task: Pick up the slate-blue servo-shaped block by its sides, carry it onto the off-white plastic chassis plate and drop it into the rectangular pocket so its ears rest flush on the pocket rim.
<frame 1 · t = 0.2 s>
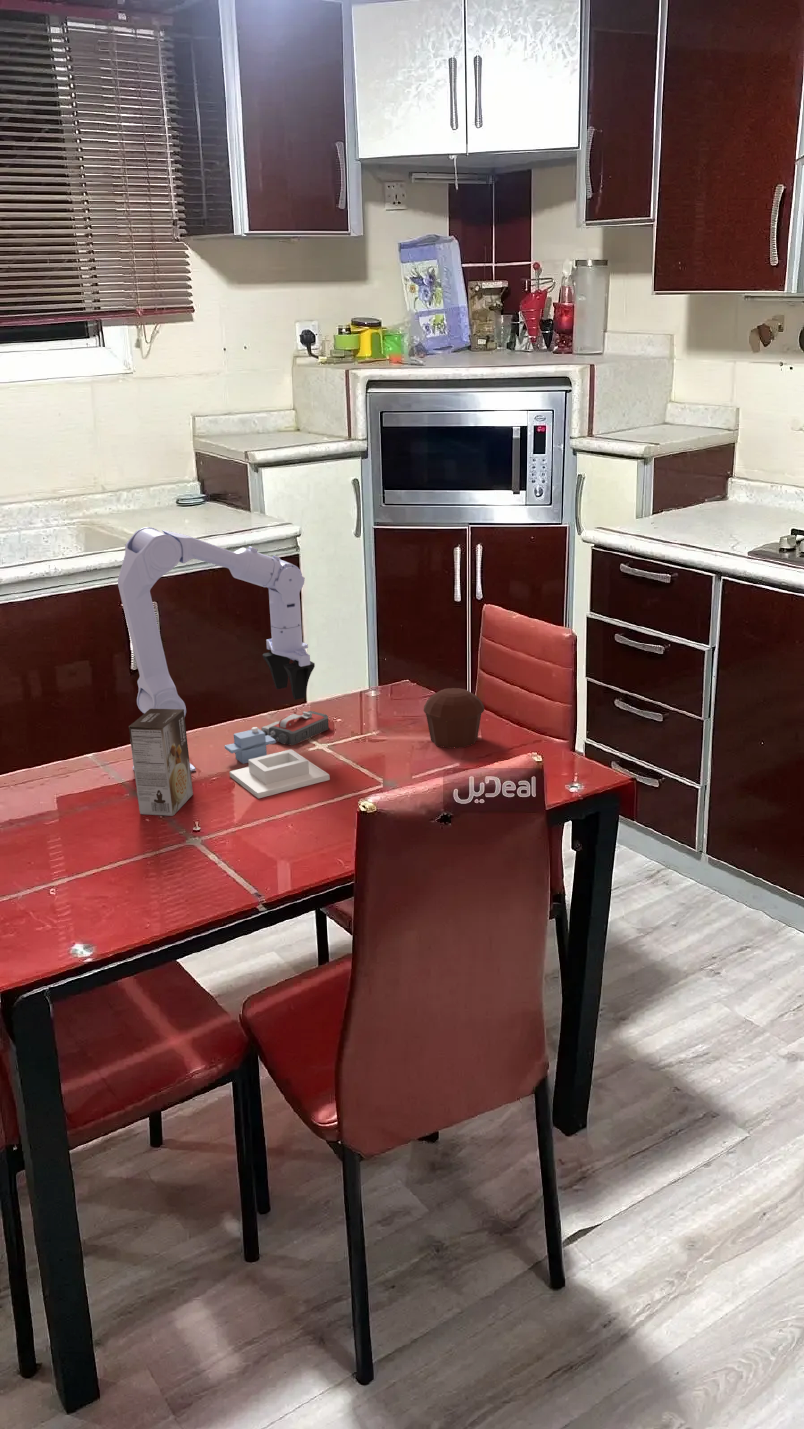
hand: (290, 693, 223), 10 cm above the table, fingers open, 7 cm apart
servo: (251, 758, 218), on the table
walkie-talkie: (285, 740, 228), on the table
muffin: (454, 741, 224), on the table
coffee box: (166, 805, 199), on the table
chassis: (279, 778, 209), on the table
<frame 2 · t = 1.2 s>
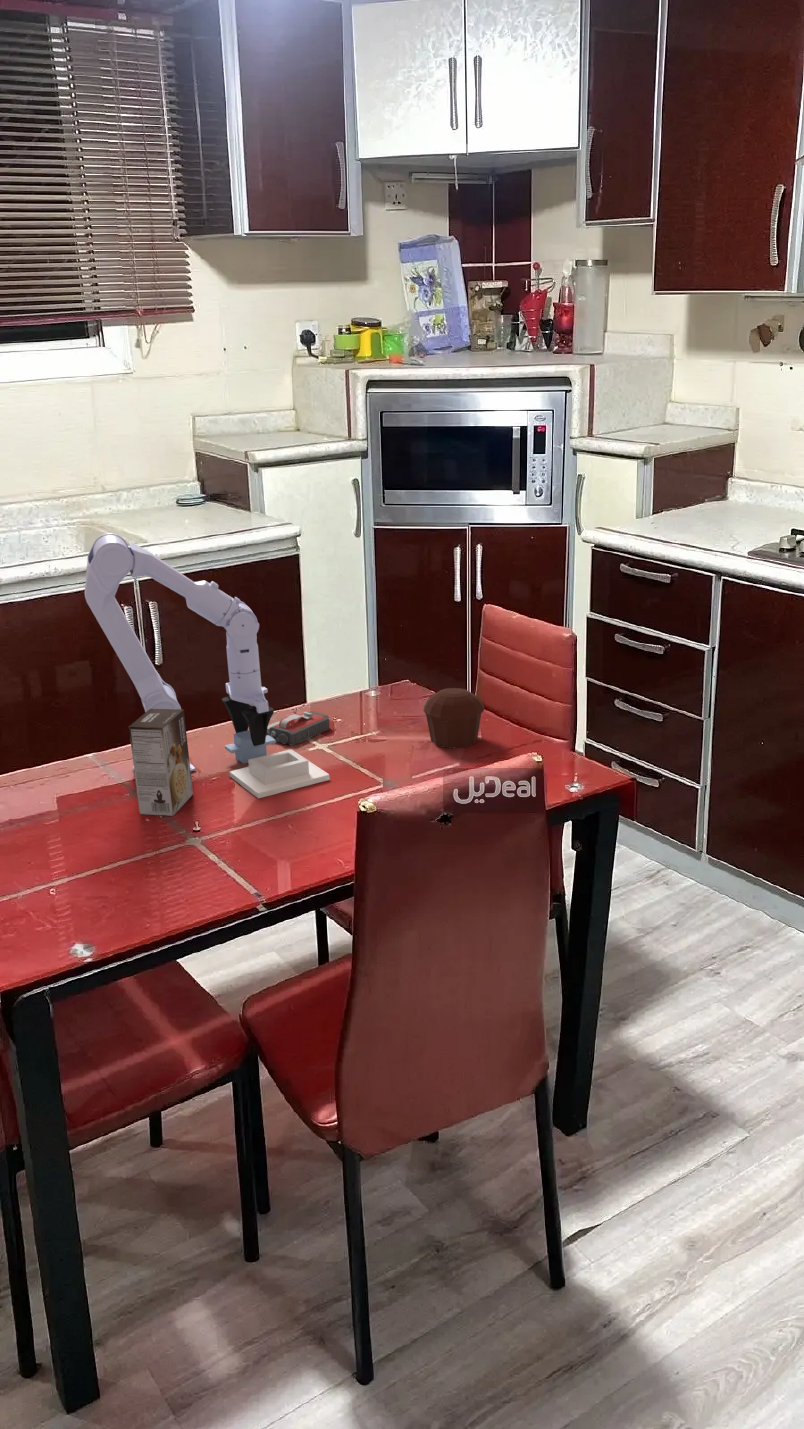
hand: (250, 738, 217), 4 cm above the table, fingers open, 7 cm apart
nothing on the table moved.
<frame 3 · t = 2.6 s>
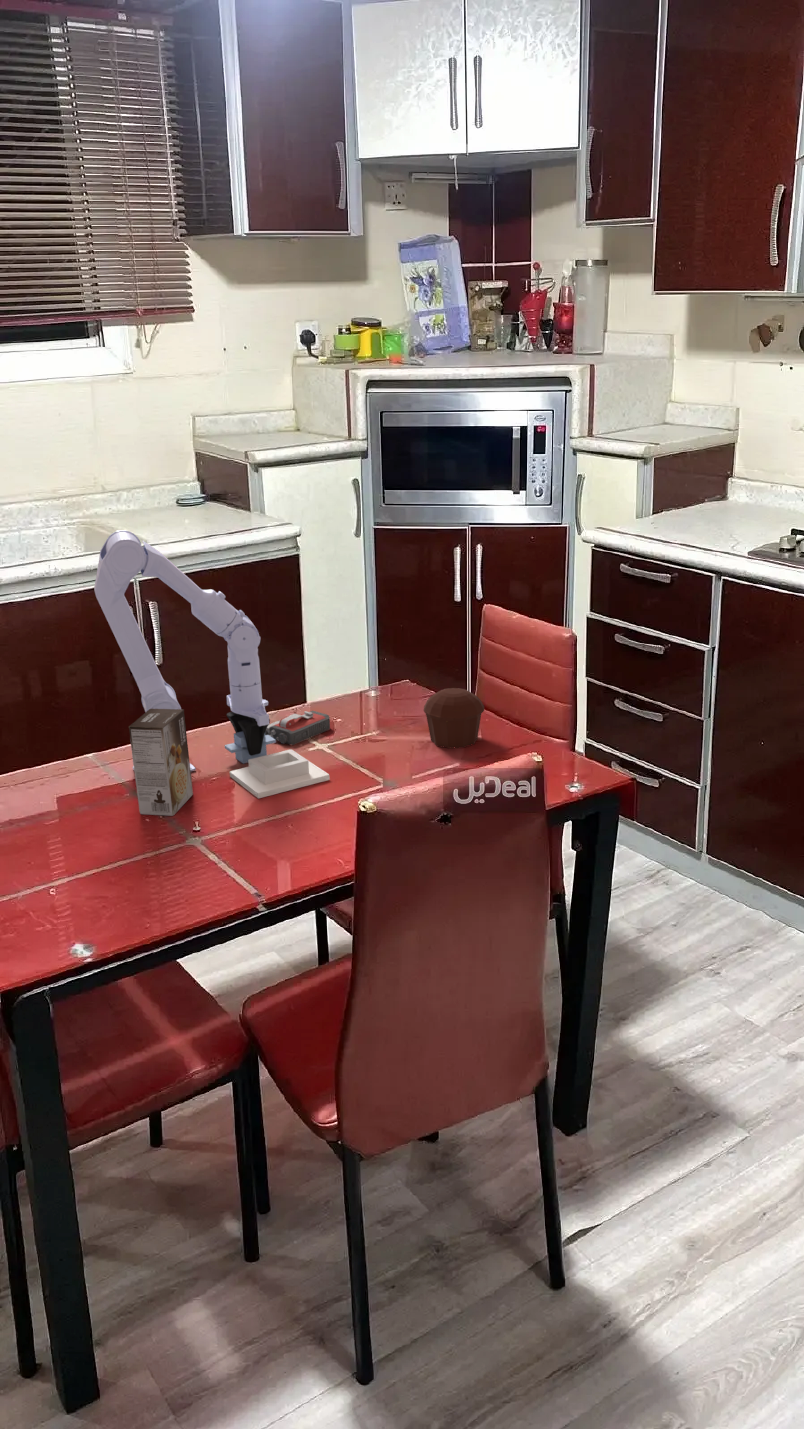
hand: (250, 750, 218), 1 cm above the table, fingers closed on servo, 3 cm apart
servo: (251, 757, 218), on the table, touching gripper
everything else where it was.
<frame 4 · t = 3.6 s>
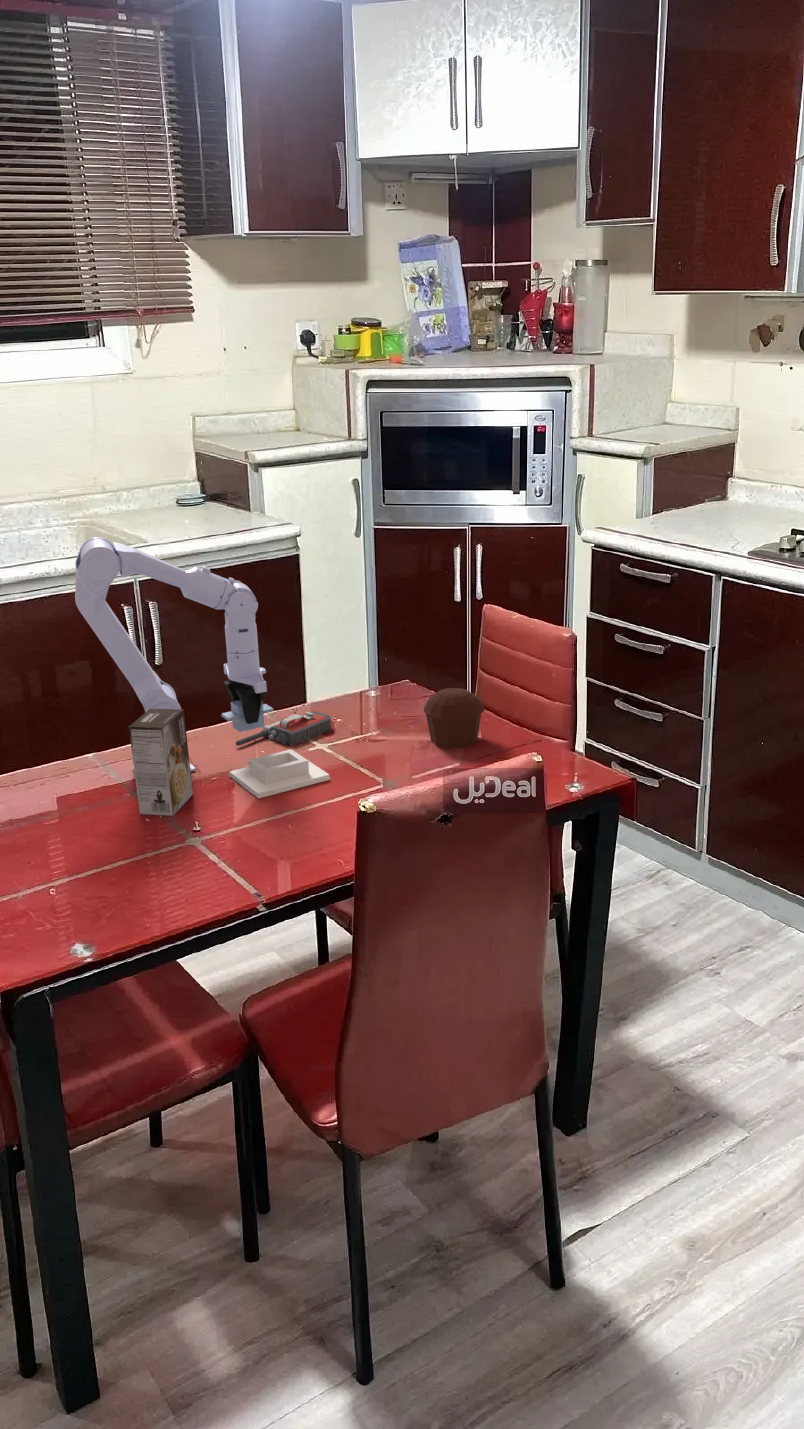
hand: (248, 719, 216), 8 cm above the table, fingers closed on servo, 3 cm apart
servo: (248, 726, 216), point 6 cm above the table, touching gripper
everything else where it was.
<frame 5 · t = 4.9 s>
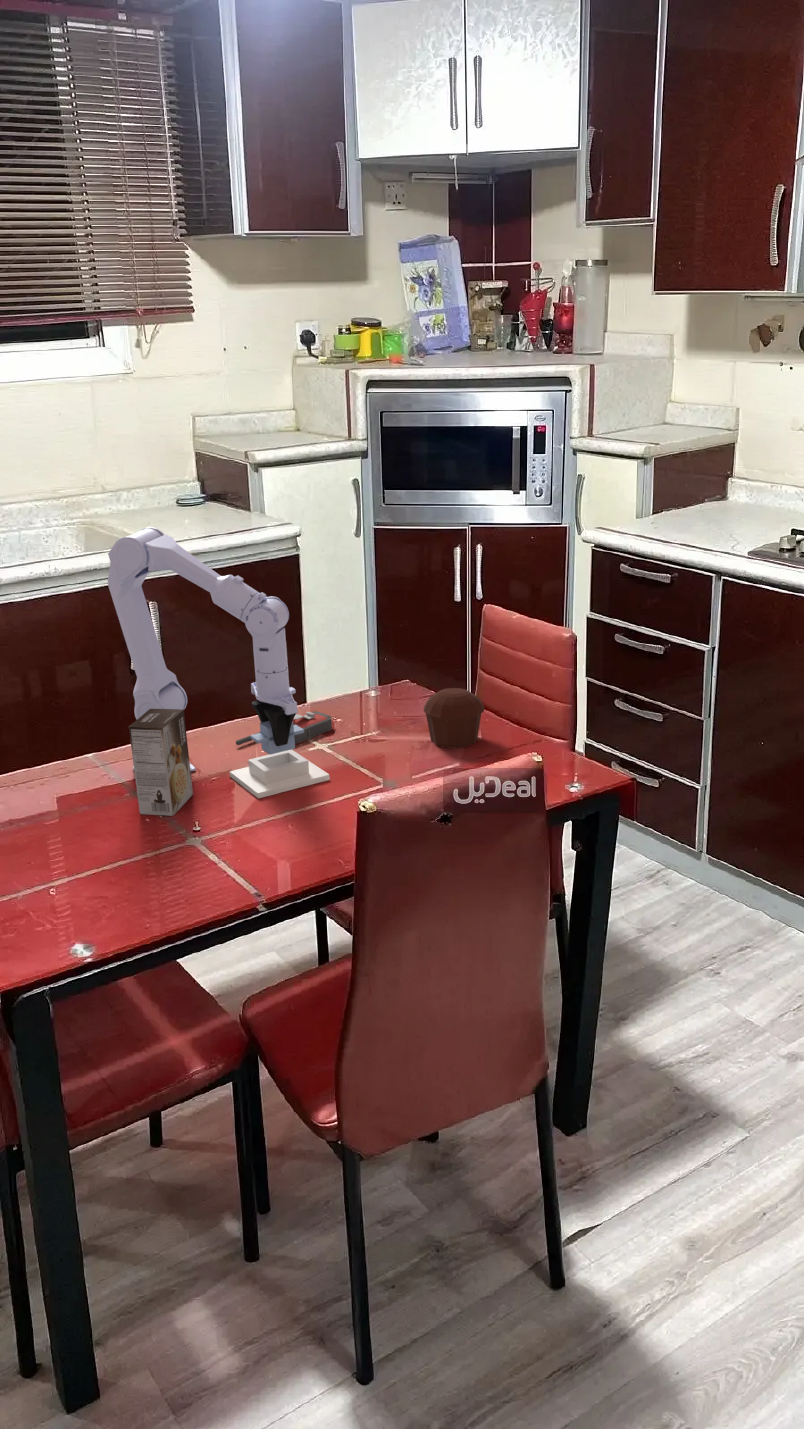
hand: (276, 741, 206), 7 cm above the table, fingers closed on servo, 3 cm apart
servo: (278, 748, 207), point 6 cm above the table, touching gripper
everything else where it was.
when the fingers open (4 cm above the table, at t = 6.1 s): servo drops 1 cm, resting on chassis.
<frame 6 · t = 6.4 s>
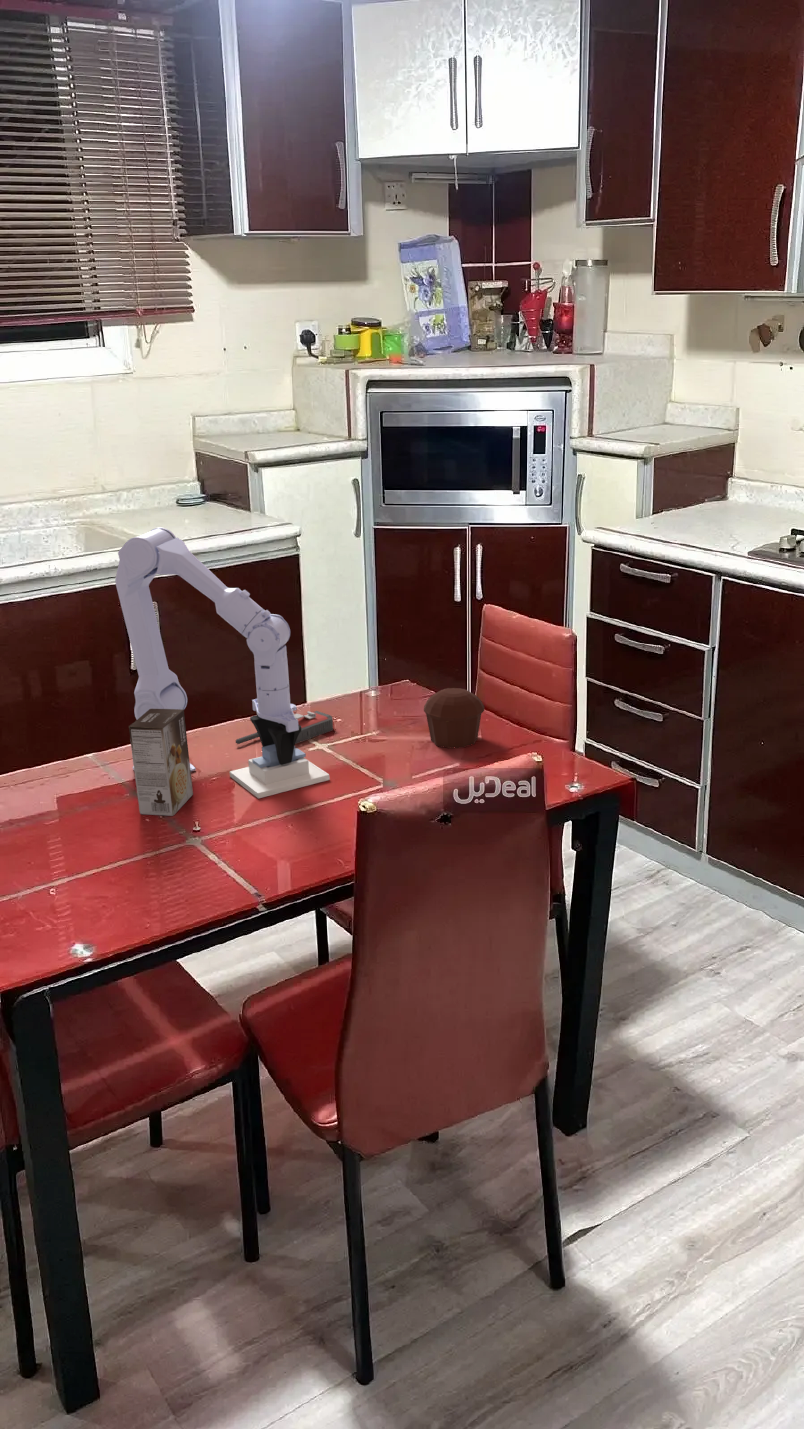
hand: (278, 757, 207), 4 cm above the table, fingers open, 5 cm apart
servo: (280, 772, 208), point 1 cm above the table, touching chassis
everything else where it was.
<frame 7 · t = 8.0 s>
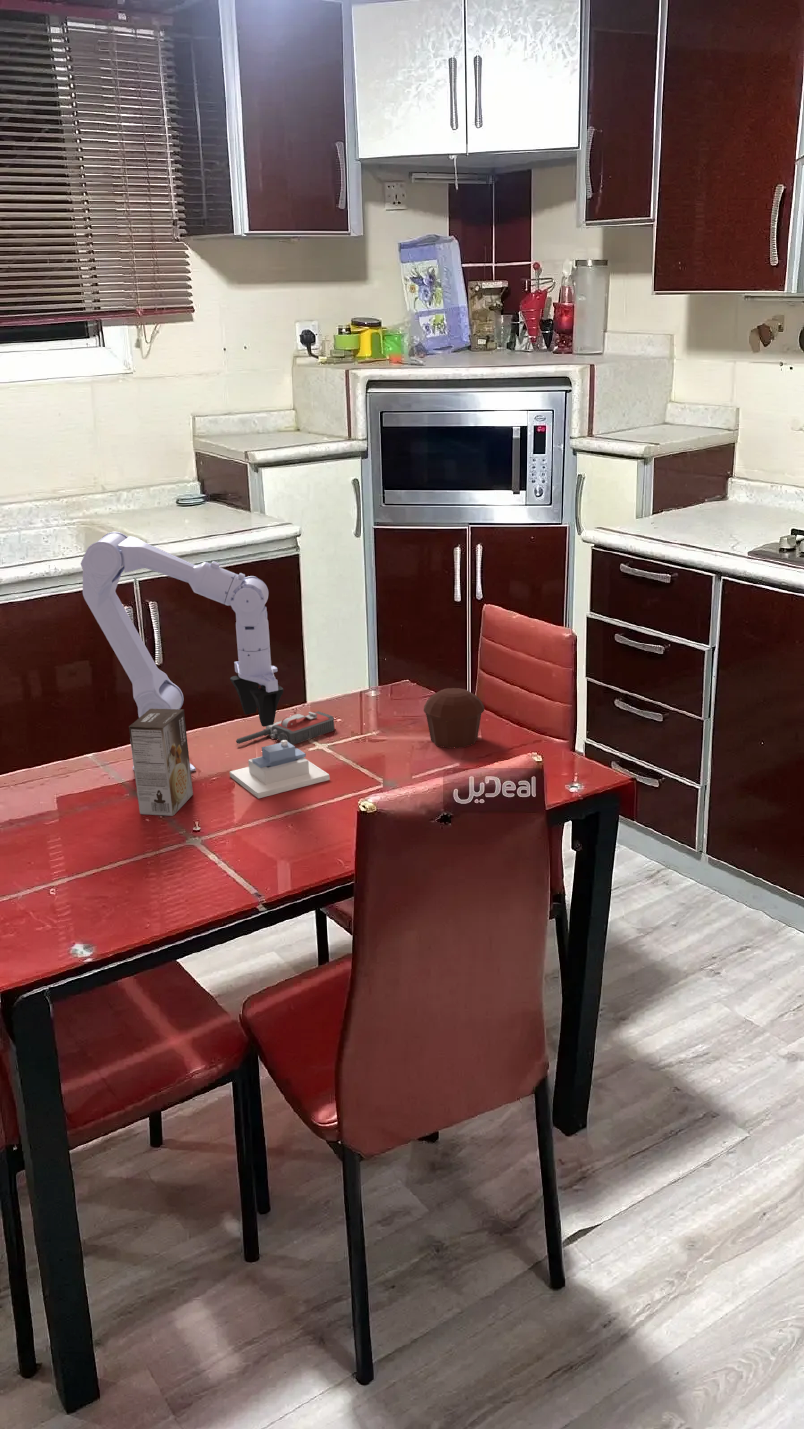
hand: (258, 719, 210), 10 cm above the table, fingers open, 7 cm apart
nothing on the table moved.
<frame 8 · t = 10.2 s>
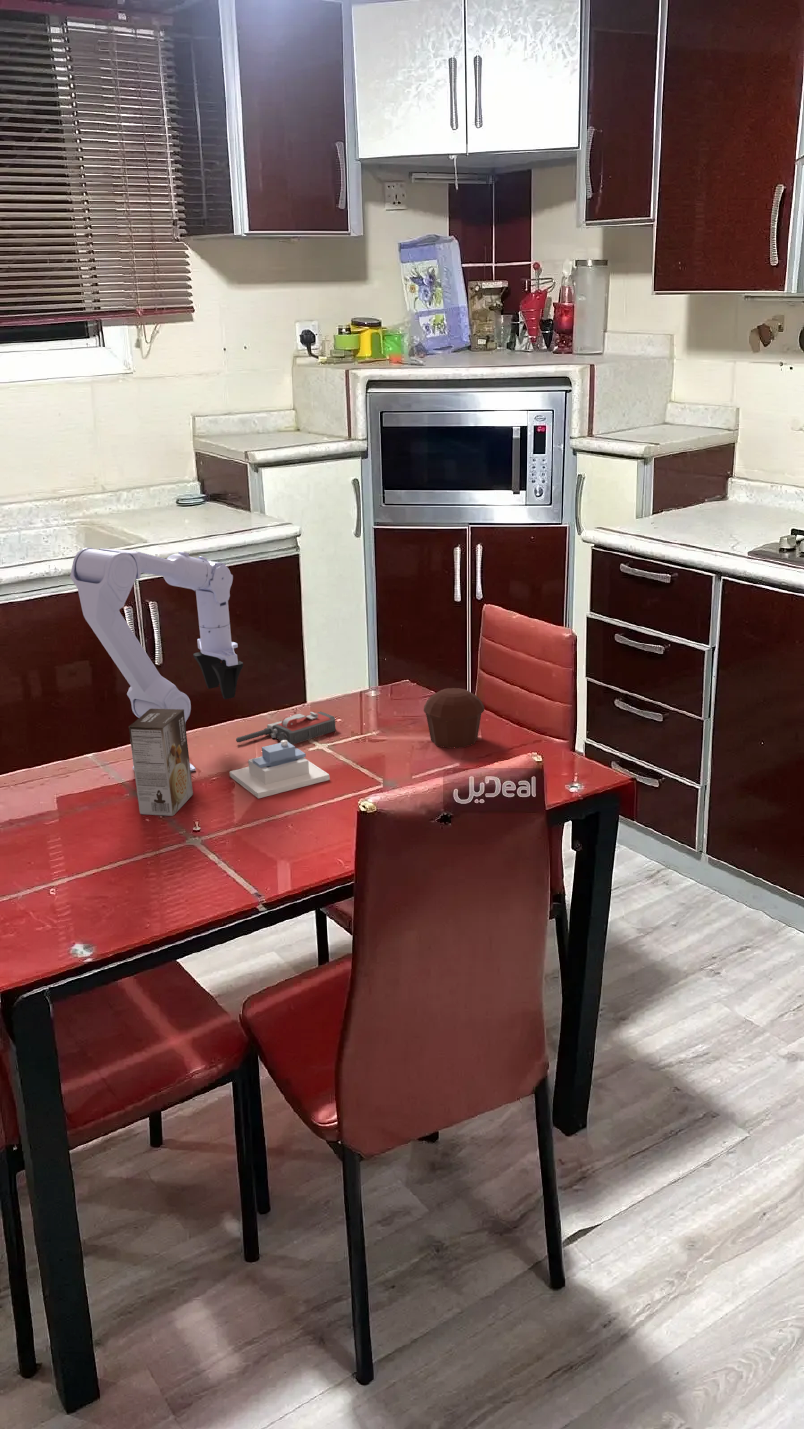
hand: (220, 692, 222), 10 cm above the table, fingers open, 7 cm apart
at the end: servo 0.2 cm off-centre on the chassis, point 1.0 cm above the chassis's base; servo tilted 0°; the gripper is holding nothing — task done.
